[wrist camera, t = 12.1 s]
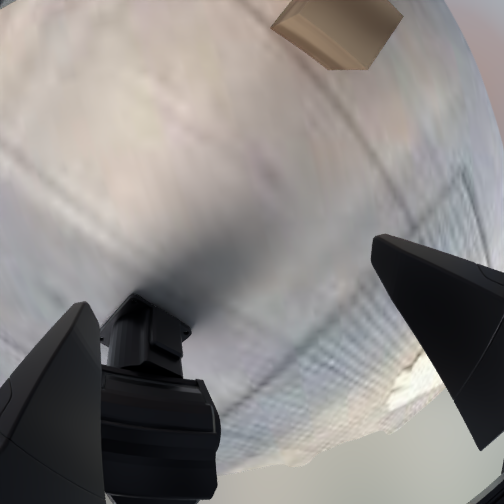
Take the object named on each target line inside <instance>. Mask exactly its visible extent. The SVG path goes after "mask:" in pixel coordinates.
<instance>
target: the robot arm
mask: <svg viewBox="0 0 504 504" xmlns="http://www.w3.org/2000/svg"><path fill="white" fill-rule="evenodd" d="M371 263H372V265H373V267H374V269H375V271H376V273H377V274H378V276H379V278H380V280H381V282H382V283H383V285H384V287H385V289H386V291H387V293H388V295H389V296H390V298H391V300H392V301H393V303H394V304H395V306H396V308H397V309H398V311H399V312H400V314H401V315H402V317H403V318H404V320H405V321H406V323H407V324H408V326H409V327H410V329H411V330H412V332H413V333H414V335H415V337H416V338H417V340H418V341H419V343H420V345H421V346H422V348H423V349H424V351H425V353H426V354H427V356H428V357H429V359H430V361H431V362H432V364H433V366H434V367H435V369H436V371H437V373H438V374H439V376H440V378H441V379H442V381H443V383H444V385H445V386H446V388H447V390H448V392H449V393H450V395H451V397H452V399H453V400H454V403H455V404H456V406H457V408H458V410H459V412H460V414H461V416H462V417H463V419H464V421H465V423H466V425H467V427H468V429H469V431H470V433H471V435H472V437H473V439H474V441H475V443H476V445H477V447H478V449H479V450H480V451H482V450H483V449H484V448H485V447H486V446H487V445H489V444H490V443H491V442H492V441H494V440H495V439H496V438H497V437H498V436H499V435H500V434H501V433H503V432H504V273H503V272H500V271H497V270H494V269H491V268H488V267H486V266H483V265H480V264H476V263H474V262H471V261H468V260H466V259H463V258H460V257H457V256H454V255H451V254H448V253H445V252H442V251H439V250H436V249H433V248H430V247H427V246H424V245H420V244H417V243H414V242H411V241H408V240H404V239H401V238H398V237H395V236H391V235H388V234H381V235H377V236H375V237H374V238H373V243H372V251H371ZM132 300H136V302H133V301H132ZM184 331H187V332H184ZM191 334H192V331H191V328H190V327H189V326H187V325H186V324H184V323H182V322H180V321H179V320H178V319H177V318H175V317H173V316H172V315H170V314H168V313H167V312H165V311H163V310H162V309H160V308H158V307H156V306H154V305H152V304H151V303H149V302H147V301H146V300H144V299H143V298H141V297H139V296H138V295H134V294H133V295H130V296H129V297H128V298H127V300H126V301H125V302H124V303H123V304H122V305H121V306H120V307H119V309H118V310H117V311H116V312H115V313H114V314H113V315H112V317H111V318H110V319H109V320H108V321H107V322H106V324H105V325H104V326H103V327H102V328H101V329H100V327H99V323H98V320H97V319H96V317H95V315H94V313H93V311H92V309H91V307H90V305H89V304H88V303H87V302H86V301H83V302H78V303H75V304H73V305H72V306H71V307H70V308H69V310H68V311H67V312H66V313H65V314H64V315H63V316H62V317H61V318H60V319H59V320H58V321H57V322H56V323H55V325H54V326H53V327H52V328H51V329H50V330H49V331H48V332H47V333H46V334H45V336H44V337H43V338H42V339H41V340H40V341H39V342H38V343H37V345H36V346H35V347H34V348H33V349H32V350H31V352H30V353H29V354H28V355H27V356H26V357H25V359H24V360H23V361H22V362H21V363H20V364H19V366H18V367H17V368H16V369H15V371H14V372H13V373H12V374H11V375H10V378H8V379H7V380H6V382H5V383H4V384H3V385H2V387H1V388H0V504H106V500H105V493H106V494H107V496H108V497H109V499H110V500H111V502H112V503H113V504H197V503H198V502H199V501H200V500H210V499H211V498H212V497H213V494H214V492H215V490H216V488H217V474H216V462H215V458H216V451H217V450H218V447H219V443H220V437H221V425H220V419H219V415H218V412H217V410H216V408H215V405H214V403H213V401H212V399H211V397H210V395H209V392H208V390H207V388H206V386H205V383H204V381H203V380H200V379H196V380H190V379H183V372H182V363H181V358H182V357H183V351H182V342H183V341H185V340H186V339H187V338H188V337H189V336H190V335H191ZM101 337H103V338H101ZM100 343H102V344H104V345H106V346H107V347H109V352H108V360H107V365H103V364H101V352H100ZM501 474H502V475H501V476H499V477H498V478H497V479H496V480H495V481H494V482H493V483H492V484H490V485H489V486H488V487H487V488H486V489H484V490H483V491H482V492H481V493H480V494H478V495H477V496H476V497H475V498H473V499H472V500H471V501H470V502H468V503H467V504H504V462H503V467H502V472H501Z"/></svg>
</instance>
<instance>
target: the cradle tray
mask: <svg viewBox="0 0 504 504" xmlns="http://www.w3.org/2000/svg"><path fill="white" fill-rule="evenodd" d="M14 1H16V0H0V9H2V8H3V7H5V6H7V5H9V4H10V3H12V2H14Z"/></svg>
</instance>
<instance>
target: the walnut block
mask: <svg viewBox="0 0 504 504" xmlns="http://www.w3.org/2000/svg"><path fill="white" fill-rule="evenodd" d="M403 17H404V16H403V15H402V14H401V13H400V12H399V11H398V10H397V9H396V8H395V7H394V6H393V5H392V4H391V3H390V2H389V1H388V0H292V1H291V2H290V4H289V5H288V6H287V7H286V9H285V10H284V11H283V12H282V14H281V15H280V16H279V17H278V19H277V20H276V21H275V23H274V24H273V25H272V27H271V28H270V29H272V30H273V31H275V32H277V33H278V34H280V35H281V36H283V37H284V38H285V39H287V40H288V41H290V42H291V43H293V44H294V45H296V46H297V47H298V48H300V49H301V50H303V51H304V52H305V53H307V54H308V55H309V56H311V57H312V58H313V59H315V60H316V61H317V62H319V63H320V64H321V65H322V66H324V67H325V68H326V69H328V70H368V69H369V67H370V66H371V64H372V63H373V61H374V60H375V58H376V57H377V55H378V54H379V52H380V51H381V49H382V48H383V46H384V45H385V43H386V42H387V40H388V39H389V37H390V36H391V34H392V33H393V31H394V30H395V29H396V27H397V26H398V24H399V23H400V21H401V20H402V18H403Z"/></svg>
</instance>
